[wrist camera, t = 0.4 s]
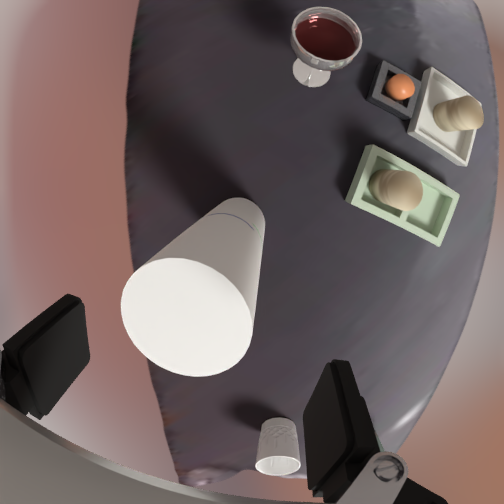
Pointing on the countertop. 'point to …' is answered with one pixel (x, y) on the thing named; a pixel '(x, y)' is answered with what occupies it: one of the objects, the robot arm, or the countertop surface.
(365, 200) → the pale green flat tray
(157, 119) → the countertop surface
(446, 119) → the cylinder
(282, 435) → the white cup
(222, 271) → the cylindrical container
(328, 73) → the wineglass
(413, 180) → the cylinder
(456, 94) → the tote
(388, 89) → the button
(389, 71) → the button housing
